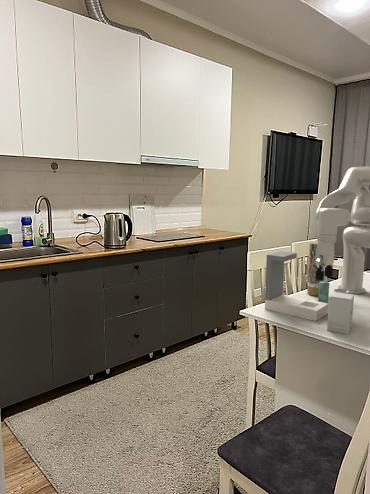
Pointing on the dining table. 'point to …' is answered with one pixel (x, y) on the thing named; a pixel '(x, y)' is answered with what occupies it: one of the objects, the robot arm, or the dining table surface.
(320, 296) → the peg
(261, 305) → the dining table surface
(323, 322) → the dining table surface
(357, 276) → the robot arm
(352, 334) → the dining table surface
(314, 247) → the paper tube
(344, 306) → the supplement box
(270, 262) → the socket block
